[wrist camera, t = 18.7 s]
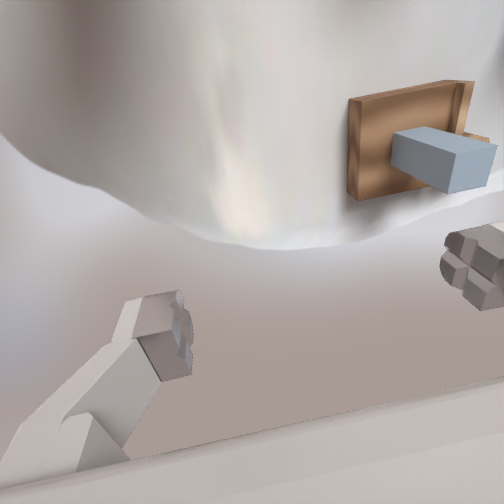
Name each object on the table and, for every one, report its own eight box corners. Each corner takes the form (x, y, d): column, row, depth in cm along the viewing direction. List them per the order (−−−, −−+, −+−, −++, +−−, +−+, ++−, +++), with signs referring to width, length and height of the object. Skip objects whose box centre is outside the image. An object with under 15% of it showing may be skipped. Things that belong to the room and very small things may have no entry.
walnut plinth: (349, 98, 41) (367, 102, 36) (444, 79, 41) (474, 81, 37) (347, 191, 49) (362, 204, 44) (427, 175, 49) (451, 186, 44)
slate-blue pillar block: (393, 132, 40) (456, 153, 30) (424, 126, 40) (497, 145, 30) (390, 164, 43) (447, 194, 33) (419, 158, 43) (485, 186, 33)
